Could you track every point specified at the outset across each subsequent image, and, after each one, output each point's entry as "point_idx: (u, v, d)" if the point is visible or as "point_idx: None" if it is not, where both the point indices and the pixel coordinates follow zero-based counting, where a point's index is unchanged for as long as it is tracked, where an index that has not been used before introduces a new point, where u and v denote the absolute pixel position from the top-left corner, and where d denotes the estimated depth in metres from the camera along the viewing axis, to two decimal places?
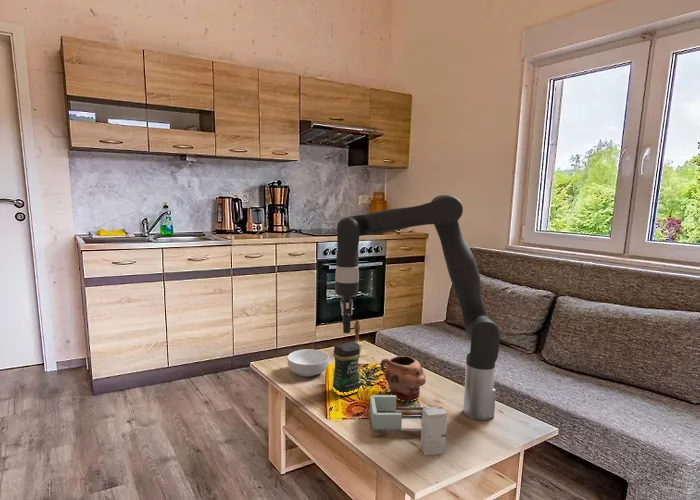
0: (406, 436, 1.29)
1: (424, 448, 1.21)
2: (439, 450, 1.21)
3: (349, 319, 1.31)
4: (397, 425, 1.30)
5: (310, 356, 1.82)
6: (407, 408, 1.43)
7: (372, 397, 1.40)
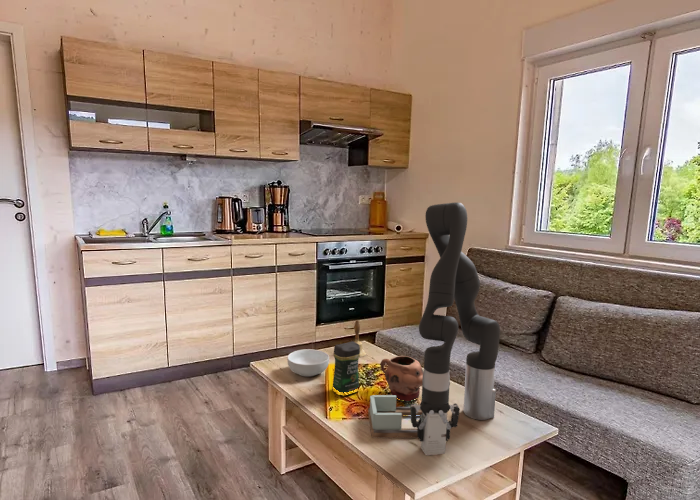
0: (406, 436, 1.29)
1: (424, 448, 1.21)
2: (439, 450, 1.21)
3: None
4: (397, 425, 1.30)
5: (310, 356, 1.82)
6: (407, 408, 1.43)
7: (372, 397, 1.40)
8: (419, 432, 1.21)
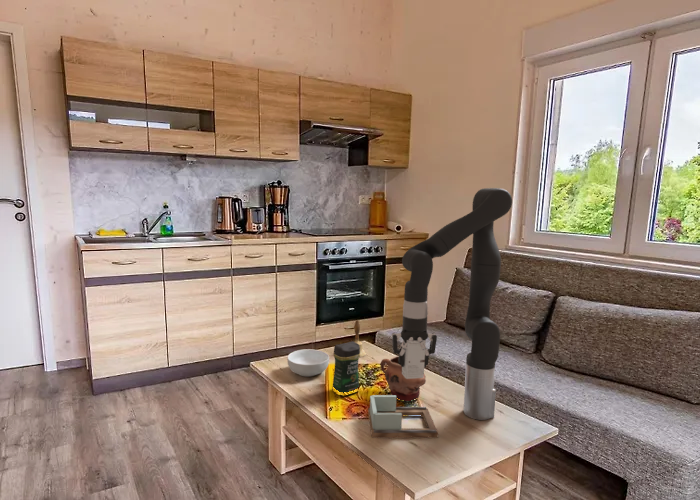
0: (406, 436, 1.29)
1: (405, 372, 1.33)
2: (418, 374, 1.33)
3: None
4: (397, 425, 1.30)
5: (310, 356, 1.82)
6: (407, 408, 1.43)
7: (372, 397, 1.40)
8: (400, 358, 1.33)
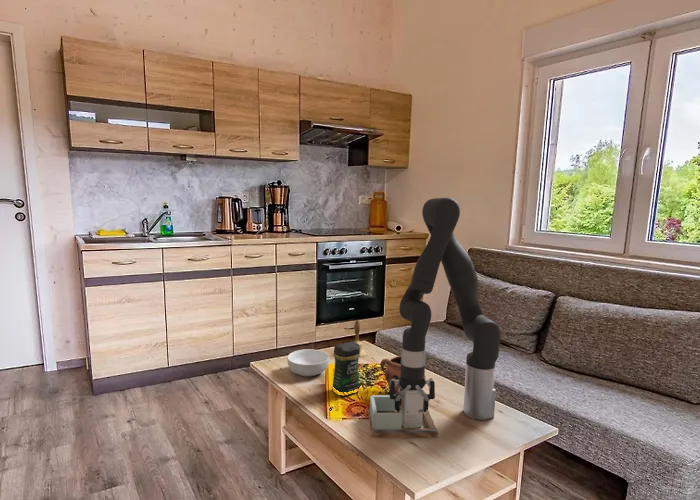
0: (406, 436, 1.29)
1: (403, 421, 1.35)
2: (416, 424, 1.35)
3: None
4: (397, 425, 1.30)
5: (310, 356, 1.82)
6: None
7: (372, 397, 1.40)
8: (396, 404, 1.35)
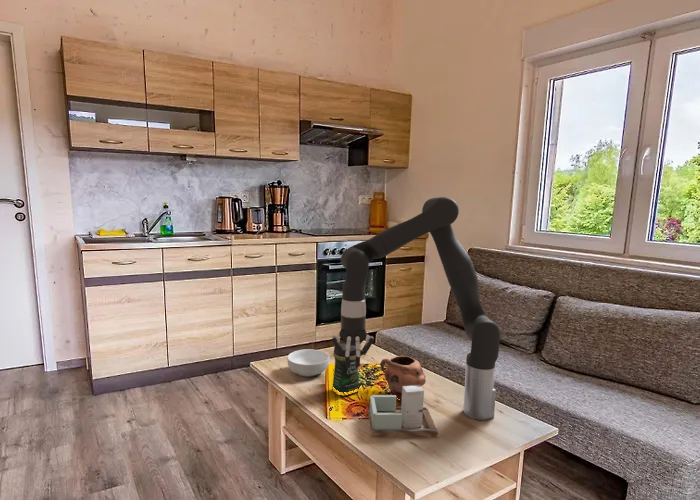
0: (406, 436, 1.29)
1: (403, 421, 1.35)
2: (416, 424, 1.35)
3: None
4: (397, 425, 1.30)
5: (310, 356, 1.82)
6: None
7: (372, 397, 1.40)
8: (346, 360, 1.33)
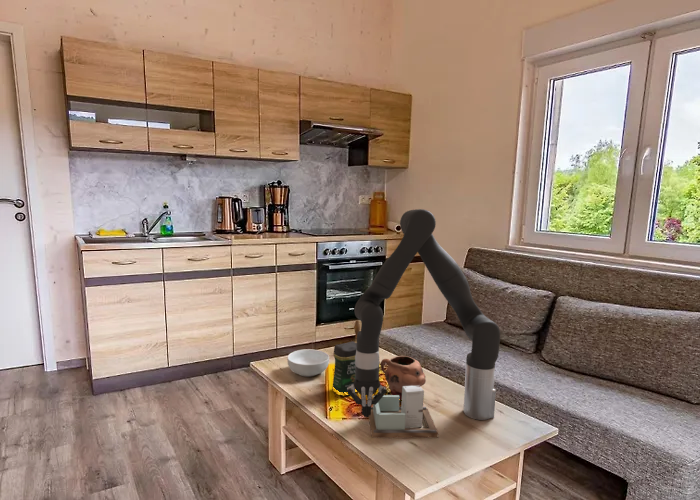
0: (406, 436, 1.29)
1: None
2: (416, 424, 1.35)
3: None
4: (400, 425, 1.30)
5: (310, 356, 1.82)
6: None
7: None
8: (363, 409, 1.35)
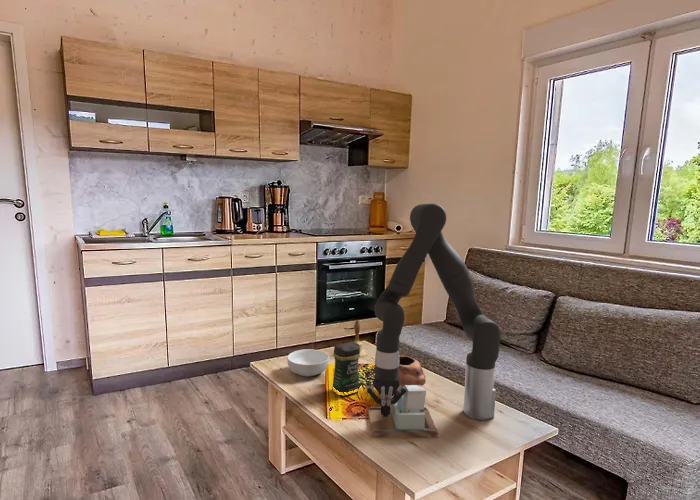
0: (406, 436, 1.29)
1: None
2: None
3: None
4: (420, 425, 1.30)
5: (310, 356, 1.82)
6: None
7: None
8: (382, 408, 1.35)
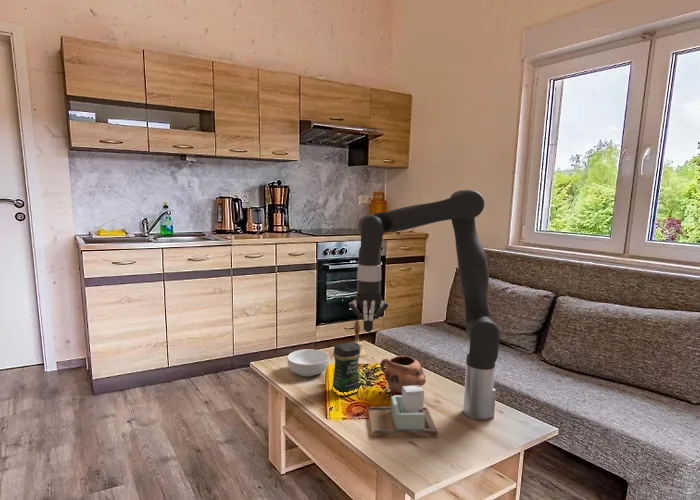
0: (406, 436, 1.29)
1: None
2: None
3: None
4: (420, 425, 1.30)
5: (310, 356, 1.82)
6: None
7: (393, 397, 1.40)
8: (364, 324, 1.36)
